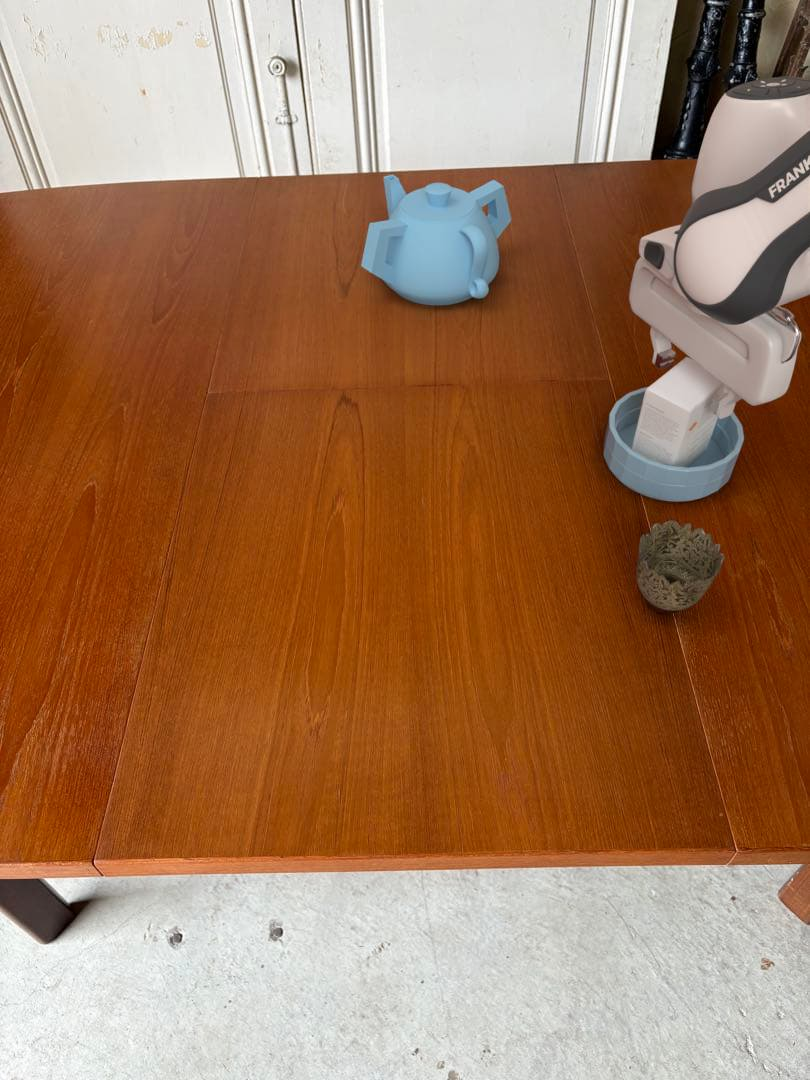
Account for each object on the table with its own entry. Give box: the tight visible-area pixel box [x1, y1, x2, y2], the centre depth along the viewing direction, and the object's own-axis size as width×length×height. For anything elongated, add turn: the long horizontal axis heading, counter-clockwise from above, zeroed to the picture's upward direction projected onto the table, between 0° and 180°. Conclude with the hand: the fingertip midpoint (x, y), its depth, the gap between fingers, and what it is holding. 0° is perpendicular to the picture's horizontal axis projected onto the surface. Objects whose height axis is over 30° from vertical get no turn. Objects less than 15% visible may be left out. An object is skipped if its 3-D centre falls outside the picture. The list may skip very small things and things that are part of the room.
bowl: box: [602, 386, 745, 503], centre depth 92 cm, size 14×14×5 cm
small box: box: [632, 356, 726, 467], centre depth 89 cm, size 8×6×10 cm
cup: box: [636, 519, 725, 616], centre depth 77 cm, size 8×7×8 cm
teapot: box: [360, 173, 512, 306], centre depth 116 cm, size 19×19×14 cm
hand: (690, 388), depth 86 cm, fingers open, 8 cm apart
